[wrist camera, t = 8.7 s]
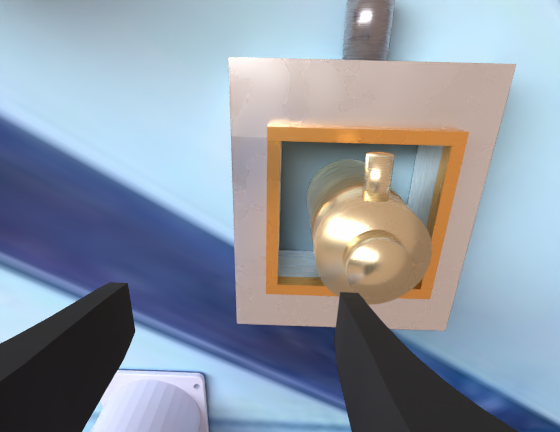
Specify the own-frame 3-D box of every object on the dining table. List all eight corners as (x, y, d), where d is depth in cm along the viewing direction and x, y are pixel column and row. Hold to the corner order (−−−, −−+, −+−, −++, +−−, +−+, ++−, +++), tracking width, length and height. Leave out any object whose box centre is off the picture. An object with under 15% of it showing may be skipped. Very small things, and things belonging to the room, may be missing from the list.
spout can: (380, 232, 21) (431, 321, 13) (305, 232, 21) (315, 320, 13) (393, 128, 18) (464, 166, 11) (308, 128, 18) (322, 165, 11)
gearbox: (425, 298, 22) (451, 340, 19) (243, 292, 22) (234, 333, 19) (495, -6, 16) (554, -28, 12) (236, -11, 16) (221, -35, 12)
